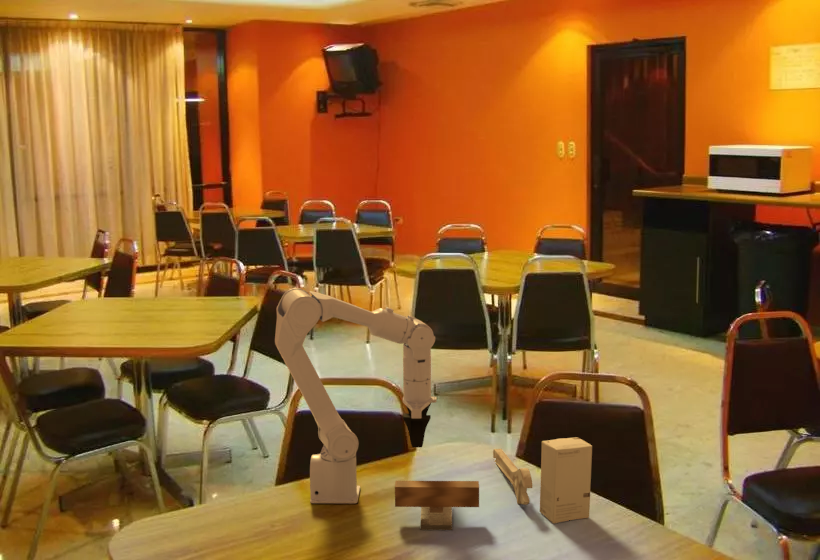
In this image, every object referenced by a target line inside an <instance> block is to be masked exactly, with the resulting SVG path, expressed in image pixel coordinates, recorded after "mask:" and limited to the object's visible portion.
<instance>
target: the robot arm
mask: <svg viewBox="0 0 820 560" xmlns="http://www.w3.org/2000/svg"><path fill="white" fill-rule="evenodd" d="M310 294H311V295H310ZM277 304H278V305H277V306H276V324H275V334H274V335H275V336H274V345H275V347H276V348H277V351H278V352H279V354H280V356H281V358H282V359H283V362H284V364H285V366H286V367H287V369H288V371H289V374H291V376H292V378H293V380H294V382H295V384H296V386H297V388H298V390H299V391H300V394H301V395H302V397H303V399H304V401H305V403H306V405H307V407H308V409H309V411H310V412H311V414H312V416H313V418H314V421H315V423H316V425H317V428H318V429H317V430H318V431H317V434H318V438H319V440H320V441H321V442H322V444H323V446H322V448H321V451H320V453H317V454H314V453H313V454H312V455H311V457H310V464H309V482H310V483H309V486H310V487H309V489H310V500H309V501H310V503H311V504H357V503H358V500H359V495H360V491H361V485H358V483H357V480H358V479H357V452H358V450H359V444H360V442H359V439H358V437H357V435H356V434H355V432H353V431H352V429H350V427H349V426H348V424H347V422H346V421H345V420H344V419H342V417H341V416H340V414H339V412H338V410H337V409H336V407H335V405H334V403H333V401H332V399H331V397H330V395H329V393H328V391H327V389H326V388H325V386H324V384H323V382H322V380H321V379H320V376H319V375H318V373H317V371H316V369H315V367H314V365H313V363H312V361H311V359H310V357H309V356H308V353H307V352H306V350H305V347H304V346H303V344H304V343H305V339H306V337H307V335H308V333H309V332H310V331H311V330H312V329H313V328H314V327H315V326H316V325H317V323H318V322H319V320H320V321H321V322H326V321H328V320H331V319H332V318H336V319H339V320H343V321H347V322H350V323H354V324H356V325H360V326H364V327H367V329H368V331H369V333H370V335H372V336H373V337H378V338H379V339H383V340H387V341H390V342H391V343H395V344H399V345H400V344H401V345H402V344H403V345H402V348H403V349H402V350H403V352H402V353H403V354H402V358H403V359H402V368H403V371H402V373H403V374H402V377H403V378H402V379H403V380H402V381H403V382H402V383H403V384H402V385H403V389H402V390H403V392H402V393H403V397H402V403H403V404H404V405H405V407H406V409H407V411H408V412H407V413H402V420H403V422H404V424H405V425H406V428H407V431H408V435H409V440H410V441H409V442H410V444H411V448H422V447H423V446H424V441H425V433H426V430H427V427H428V425H429V422H430V420H431V414H428V411H429V408H430V407H431V404H433V403H437V402H438V401H437V398H438V397H437V396H432V363H431V361H432V357H431V349H432V348H433V346H434V344H435V342H436V335H434V331H433V329H432V328H431V327H430V326H429V325H428V324H426V323H425V322H423V321H422V320H420V319H418V318H416V317H415V316H412V315H410V314H409V315H408V314H407V316H405V315H402V314H400V313H397V312H395V311H394V309H393V308H391V307H388V306H386V307H385V308H383V307H379V308H377V309H375V310H374V309H373V310H372V311H370V310H368V309H366V308H363V307H360V306H357V305H355V304H352V303H350V302H346V301H344V300H341V299H339V298H337V297H334V296H331V295H328V294H323V293H320V292H317V291H314V290H313V291H312V290H309V291H306V290H304V289H303V288H300V287H293V288H290V289H288V290H286V291H285V292H284V293H283V294H282V296H281V299H280V300H279V302H278V303H277Z"/></svg>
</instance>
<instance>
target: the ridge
mask: <svg viewBox="0 0 820 560" xmlns="http://www.w3.org/2000/svg"><path fill="white" fill-rule="evenodd" d="M452 509H453V507H420V523H419V524H420V527H419V528H420V531H453V510H452Z"/></svg>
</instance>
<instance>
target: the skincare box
mask: <svg viewBox="0 0 820 560" xmlns="http://www.w3.org/2000/svg"><path fill="white" fill-rule="evenodd" d="M592 456H593V445H591V443H588V442H587V441H585V440H584V439H581V438H580V437H576V436H575V437H567V438H564V437H563V438H556V439H550V440H548V439H547V440H542V441H541V456H540V457H541V462H540V463H541V464H540V487H539V489H540V490H539V491H540V492H539V493H540V494H539V512H540V513H541V515H543V516H544V517H545V518H546V519H547V520H548V521H550V523H552V524H554V525H555V524H558V523H562V522H569V520H570V521H575V520H581V519H588V518H590V508H591V506H590V505H591V484H592V483H591V479H592V459H593V458H592Z"/></svg>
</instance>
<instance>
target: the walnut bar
mask: <svg viewBox="0 0 820 560" xmlns="http://www.w3.org/2000/svg"><path fill="white" fill-rule="evenodd" d="M479 483H480V481H479V480H395V484H394V507H396V508H399V507H400V508H405V507H406V508H421V507H452V508H480V484H479Z"/></svg>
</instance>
